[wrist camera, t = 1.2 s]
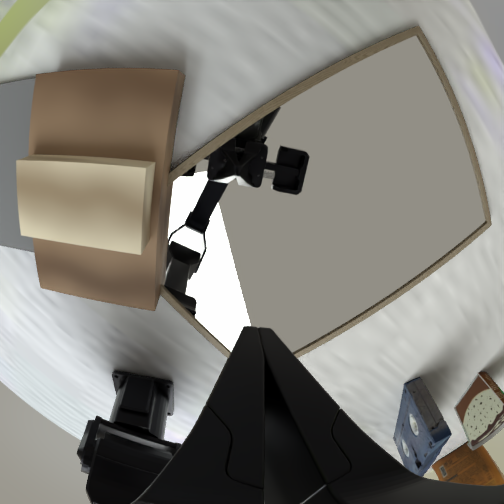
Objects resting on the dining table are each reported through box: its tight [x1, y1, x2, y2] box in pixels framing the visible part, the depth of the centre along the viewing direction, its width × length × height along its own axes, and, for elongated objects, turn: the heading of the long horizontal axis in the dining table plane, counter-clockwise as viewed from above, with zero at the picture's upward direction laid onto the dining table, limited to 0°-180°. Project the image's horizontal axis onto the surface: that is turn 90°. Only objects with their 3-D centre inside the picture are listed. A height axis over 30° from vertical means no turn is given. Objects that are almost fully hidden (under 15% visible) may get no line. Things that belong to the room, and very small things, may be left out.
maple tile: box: [16, 155, 155, 255], centre depth 15 cm, size 5×9×2 cm, turn 79°
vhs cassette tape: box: [393, 377, 452, 477], centre depth 31 cm, size 18×3×10 cm, turn 15°
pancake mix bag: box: [431, 441, 504, 486], centre depth 41 cm, size 7×19×28 cm, turn 127°
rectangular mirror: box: [160, 26, 492, 358], centre depth 21 cm, size 19×1×28 cm
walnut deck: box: [28, 68, 185, 311], centre depth 17 cm, size 16×10×2 cm, turn 169°
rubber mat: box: [0, 78, 36, 252], centre depth 17 cm, size 14×9×1 cm, turn 169°
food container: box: [454, 372, 504, 451], centre depth 31 cm, size 12×6×10 cm, turn 179°
